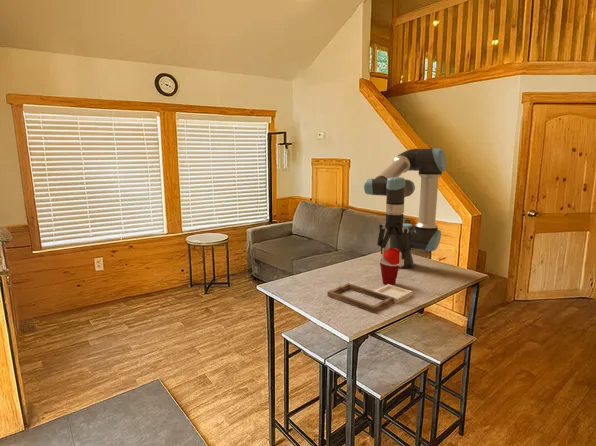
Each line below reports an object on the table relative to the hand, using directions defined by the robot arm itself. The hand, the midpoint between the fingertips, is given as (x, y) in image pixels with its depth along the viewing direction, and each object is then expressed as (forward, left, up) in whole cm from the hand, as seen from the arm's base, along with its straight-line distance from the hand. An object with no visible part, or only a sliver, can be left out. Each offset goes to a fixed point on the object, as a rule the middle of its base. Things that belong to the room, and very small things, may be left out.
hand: (392, 263), depth 166 cm
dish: (0, 0, -15) cm, 15 cm away
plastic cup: (-12, -9, -15) cm, 21 cm away
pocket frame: (+13, -8, -15) cm, 21 cm away
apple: (0, 0, -1) cm, 1 cm away
